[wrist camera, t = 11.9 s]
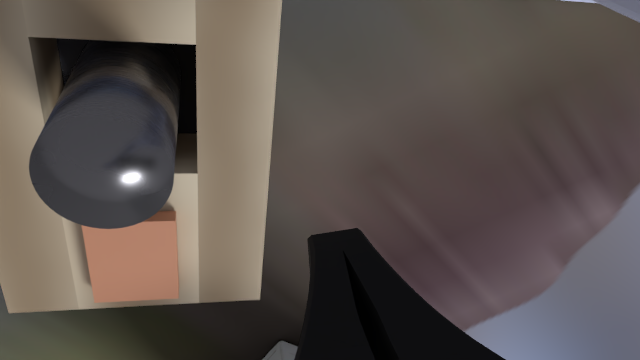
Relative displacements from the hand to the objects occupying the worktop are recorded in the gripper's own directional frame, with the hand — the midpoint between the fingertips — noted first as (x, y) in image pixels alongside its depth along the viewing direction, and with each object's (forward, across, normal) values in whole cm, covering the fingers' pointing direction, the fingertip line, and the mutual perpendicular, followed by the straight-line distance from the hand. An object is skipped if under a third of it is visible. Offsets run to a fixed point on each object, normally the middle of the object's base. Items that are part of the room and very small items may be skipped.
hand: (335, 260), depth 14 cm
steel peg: (+9, +6, -2) cm, 11 cm away
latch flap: (+6, +7, +4) cm, 10 cm away
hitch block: (+9, +6, 0) cm, 11 cm away
